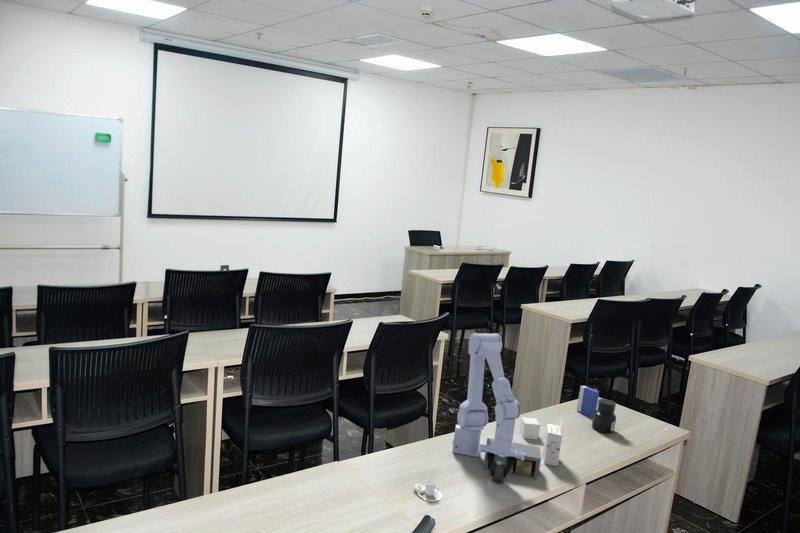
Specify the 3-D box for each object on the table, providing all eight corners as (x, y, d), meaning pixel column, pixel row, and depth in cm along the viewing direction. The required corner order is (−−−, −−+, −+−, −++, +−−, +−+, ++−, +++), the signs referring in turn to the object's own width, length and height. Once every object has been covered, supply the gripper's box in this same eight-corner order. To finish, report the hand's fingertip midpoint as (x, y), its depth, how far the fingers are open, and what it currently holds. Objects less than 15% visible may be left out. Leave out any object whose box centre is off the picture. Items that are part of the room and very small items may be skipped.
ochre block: (515, 472, 197) (517, 459, 197) (515, 465, 202) (517, 453, 202) (530, 475, 197) (532, 462, 196) (529, 468, 202) (531, 455, 201)
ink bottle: (617, 435, 238) (622, 407, 237) (595, 433, 238) (600, 405, 237) (609, 425, 248) (613, 398, 246) (588, 423, 248) (592, 396, 246)
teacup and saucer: (409, 491, 178) (410, 478, 178) (429, 485, 183) (430, 473, 183) (427, 505, 171) (428, 492, 171) (447, 499, 176) (449, 486, 176)
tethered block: (489, 482, 189) (492, 464, 188) (491, 460, 204) (493, 444, 203) (505, 485, 188) (507, 467, 187) (505, 463, 203) (508, 447, 202)
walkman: (595, 416, 257) (599, 390, 255) (591, 417, 255) (596, 391, 253) (579, 410, 263) (583, 384, 261) (576, 411, 261) (580, 385, 259)
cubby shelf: (483, 468, 197) (486, 448, 196) (484, 457, 206) (487, 437, 205) (537, 479, 194) (540, 458, 193) (536, 466, 203) (539, 447, 202)
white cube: (534, 432, 232) (536, 418, 231) (538, 439, 226) (540, 424, 225) (519, 431, 232) (521, 417, 231) (522, 438, 226) (524, 423, 225)
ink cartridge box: (542, 453, 214) (548, 415, 212) (556, 456, 213) (562, 417, 211) (543, 464, 206) (549, 424, 203) (557, 466, 205) (564, 427, 203)
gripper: (480, 437, 185) (475, 477, 187) (527, 446, 183) (521, 486, 185) (481, 428, 192) (476, 467, 194) (526, 436, 189) (520, 476, 191)
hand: (498, 476), depth 190 cm, fingers open, 4 cm apart
